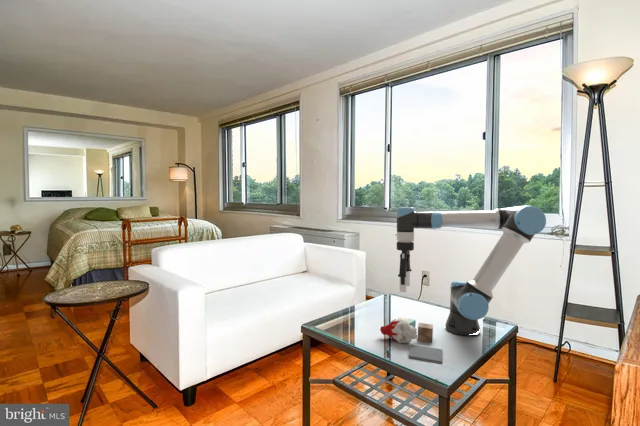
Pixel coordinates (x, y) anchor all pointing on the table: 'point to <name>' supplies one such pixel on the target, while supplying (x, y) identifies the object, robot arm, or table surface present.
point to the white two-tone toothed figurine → (400, 331)
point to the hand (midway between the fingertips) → (404, 288)
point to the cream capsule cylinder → (404, 319)
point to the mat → (425, 353)
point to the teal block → (412, 322)
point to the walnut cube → (425, 332)
